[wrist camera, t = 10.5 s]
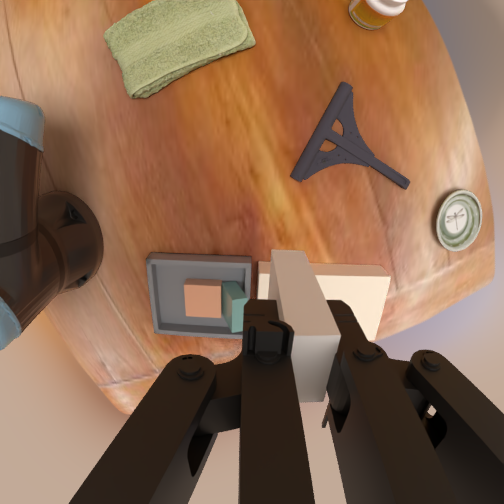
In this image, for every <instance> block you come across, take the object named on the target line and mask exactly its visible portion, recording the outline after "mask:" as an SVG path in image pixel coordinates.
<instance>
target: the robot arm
mask: <svg viewBox="0 0 504 504" xmlns="http://www.w3.org/2000/svg"><path fill="white" fill-rule="evenodd" d="M44 124H45V116H44V113H43V111H42V109H41V108H40V107H39V106H38V105H36V104H34V103H31V102H28V101H24V100H20V99H15V98H10V97H4V96H0V350H2V349H4V348H5V347H6V346H7V345H9V344H10V343H11V342H12V341H13V340H14V339H15V338H17V337H19V336H20V335H21V333H22V332H23V331H24V329H25V328H26V327H27V326H28V325H29V324H30V323H31V322H32V321H33V319H34V318H35V317H36V316H37V315H38V314H39V313H40V312H41V311H42V310H43V309H44V308H45V307H46V306H47V305H48V304H49V303H50V301H51V300H52V299H53V298H54V297H55V296H56V295H57V294H60V293H64V292H67V291H70V290H74V289H77V288H79V287H81V286H83V285H84V284H85V283H86V282H88V281H89V280H90V279H91V278H92V276H93V275H94V274H95V273H96V272H97V270H98V268H99V266H100V264H101V260H102V256H103V239H102V234H101V230H100V227H99V224H98V222H97V220H96V218H95V216H94V214H93V213H92V211H91V210H90V209H89V207H88V206H87V205H86V204H85V203H84V202H83V201H82V200H80V199H79V198H78V197H76V196H74V195H72V194H70V193H67V192H63V191H54V192H50V193H47V194H44V195H42V196H40V197H39V181H40V169H41V159H42V152H44V147H43V134H44ZM326 391H327V393H328V396H329V403H328V406H327V409H326V412H325V416H324V419H323V422H322V428H325V427H326V424H327V421H329V425H330V430H331V434H332V438H333V443H334V447H335V451H336V456H337V461H338V465H339V470H340V474H341V479H342V483H343V488H344V493H345V498H346V502H347V504H504V414H503V413H502V412H501V411H500V410H499V409H498V408H497V407H496V406H495V405H494V404H493V403H492V402H491V401H490V400H489V399H488V398H487V397H486V396H485V395H484V394H483V393H482V392H481V391H480V390H479V389H478V388H477V387H475V386H474V384H473V383H472V382H471V381H469V380H468V379H467V378H466V377H465V376H464V375H463V374H462V373H461V372H460V371H459V370H458V369H457V368H456V367H455V366H454V365H452V363H450V362H449V361H448V360H447V359H446V358H445V357H444V356H442V355H441V354H439V353H437V352H435V351H431V350H419V351H417V352H415V353H414V354H413V356H412V357H411V360H410V362H409V361H402V360H395V359H390V358H388V356H387V354H386V352H385V351H384V350H383V349H382V348H381V347H380V346H378V345H376V344H375V343H372V342H369V341H368V340H367V338H366V336H365V334H364V332H363V330H362V328H361V326H360V324H359V322H357V319H356V317H355V316H354V313H353V311H352V309H351V307H350V306H349V305H347V304H346V303H345V302H343V301H342V300H326V299H325V297H324V294H323V292H322V290H321V288H320V285H319V283H318V281H317V278H316V276H315V274H314V272H313V270H312V267H311V265H310V263H309V261H308V258H307V256H306V254H305V252H304V251H297V250H273V249H272V250H271V264H270V277H269V290H268V299H249V300H248V301H247V302H246V304H245V305H244V311H243V337H242V351H241V353H240V354H239V356H238V357H236V358H235V359H234V360H231V361H229V362H226V363H222V364H217V365H214V363H213V362H212V361H210V360H209V359H208V358H206V357H203V356H200V355H193V354H188V355H181V356H179V357H176V358H174V359H172V360H171V361H170V362H169V363H168V364H167V365H166V367H165V368H164V369H163V371H162V372H161V374H160V375H159V376H158V378H157V379H156V381H155V382H154V383H153V385H152V386H151V388H150V389H149V390H148V392H147V393H146V395H145V396H144V397H143V399H142V400H141V402H140V403H139V405H138V406H137V407H136V409H135V410H134V412H133V413H132V414H131V416H130V417H129V419H128V420H127V421H126V423H125V424H124V426H123V427H122V429H121V430H120V431H119V433H118V434H117V436H116V437H115V439H114V440H113V441H112V443H111V444H110V445H109V447H108V448H107V450H106V451H105V453H104V454H103V455H102V457H101V459H100V460H99V461H98V463H97V464H96V465H95V467H94V468H93V470H92V471H91V472H90V474H89V475H88V477H87V478H86V480H85V481H84V482H83V484H82V485H81V487H80V488H79V490H78V491H77V492H76V494H75V495H74V497H73V498H72V499H71V501H70V502H69V504H188V502H189V500H190V497H191V495H192V493H193V491H194V488H195V486H196V484H197V482H198V479H199V477H200V475H201V473H202V470H203V468H204V466H205V463H206V461H207V458H208V456H209V454H210V452H211V449H212V447H213V445H214V442H215V440H216V438H217V435H218V433H219V432H223V431H228V430H232V429H237V428H240V447H239V499H238V504H315V500H314V493H313V486H312V480H311V473H310V467H309V461H308V454H307V448H306V442H305V436H304V430H303V424H302V417H301V412H300V406H299V402H322V401H324V397H325V394H326ZM431 405H432V406H433V407H434V408H435V409H436V413H435V414H434V416H432V415H430V414H429V413H428V412H427V411H428V410H429V408H430V406H431Z"/></svg>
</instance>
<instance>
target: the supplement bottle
mask: <svg viewBox="0 0 504 504" xmlns="http://www.w3.org/2000/svg"><path fill="white" fill-rule="evenodd" d="M407 1H408V0H352V1H351V3H350V5H349V13H350V16H351V18H352V19H353V20H354V22H355V23H357V24H358V25H359V26H361V27H363V28H365V29H369V30H375V29H379V28H381V27H382V26H384V25H385V24H386V23H388V22H389V21H390V20H392V19H393V18H394V17H396V16H397V15H399V14H400V13H401V12H402V11H403V10H404V8H405V2H407Z"/></svg>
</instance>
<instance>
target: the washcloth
mask: <svg viewBox="0 0 504 504" xmlns="http://www.w3.org/2000/svg"><path fill="white" fill-rule="evenodd" d="M103 37H104V39H105V41H106V42H107V45H108V48H109V49H111V52H112V55H113V57H114V58H115V60H117V61H118V64H119V66H120V68H121V70H122V72H123V73H122V77H123V81H124V85H125V88H126V90H127V94H128V95H129V96H130V98H132V99H134V98H138V97H141V98H142V97H143V98H147V97H149V96H150V95H151V94H153V93H155V92H158V91H159V90H160V89H162V87H165V86H166V85H168V84H169V83H170V82H172V81H173V80H176V79H177V78H180V77H182V76H184V75H185V74H188V73H189V72H190V71H192V70H195V69H196V68H199V67H200V66H205V65H206V64H207V63H208V64H209V63H210V62H212V61H213V60H217V58H220V57H222V56H226V55H229V54H230V53H235V52H237V51H238V50H244V49H247V48H251V47H252V46H254V45H255V39H254V37H253V35H252V32H251V31H250V28H249V25H248V23H247V20H246V17H245V15H244V13H243V10H242V8H241V7H240V5H239V4H238V2H237V1H236V0H155V1H152V2H150V3H148V4H146V5H145V6H143V7H142V8H140V9H136V10H134V11H133V12H132V13H129V14H127V16H126V17H124V18H122V19H121V20H120V21H119V22H117V23H114V25H113V26H111V27H110V28H109V29H107V30H106V31H105V33H104V35H103Z"/></svg>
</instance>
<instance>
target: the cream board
mask: <svg viewBox="0 0 504 504" xmlns="http://www.w3.org/2000/svg"><path fill="white" fill-rule="evenodd" d="M270 264H271V262H265V261H258V279H257V297H256V299H268V290H269V277H270ZM310 265H311V267H312V270H313V272H314V274H315V276H316V278H317V281H318V283H319V285H320V288H321V290H322V292H323V294H324V297H325V299H326V300H342V301H343V302H345V303H346V304H347V305H349V306H350V307H351V309H352V311H353V313H354V316H355V317H356V319H357V322H359V324H360V326H361V328H362V330H363V332H364V334H365V336H366V338H367V340H375V336H376V333H377V330H378V326H379V322H380V319H381V315H382V311H383V308H384V304H385V300H386V296H387V292H388V288H389V283H390V279H391V276H390V275H389V274H388V273H387V272H386V271H385V270H384V268H383V267H382V266H381V265H355V264H323V263H310Z"/></svg>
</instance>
